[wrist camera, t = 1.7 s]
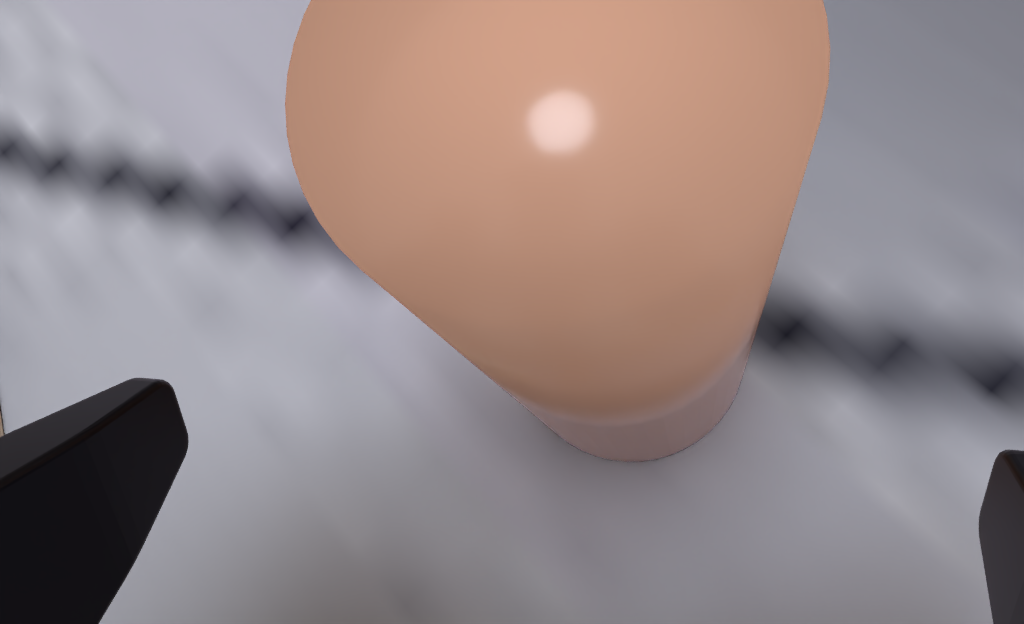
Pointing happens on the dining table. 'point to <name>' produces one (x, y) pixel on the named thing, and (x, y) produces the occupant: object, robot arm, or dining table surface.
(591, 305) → the tan tapered rounded cylinder
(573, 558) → the dining table surface
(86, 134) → the dining table surface
